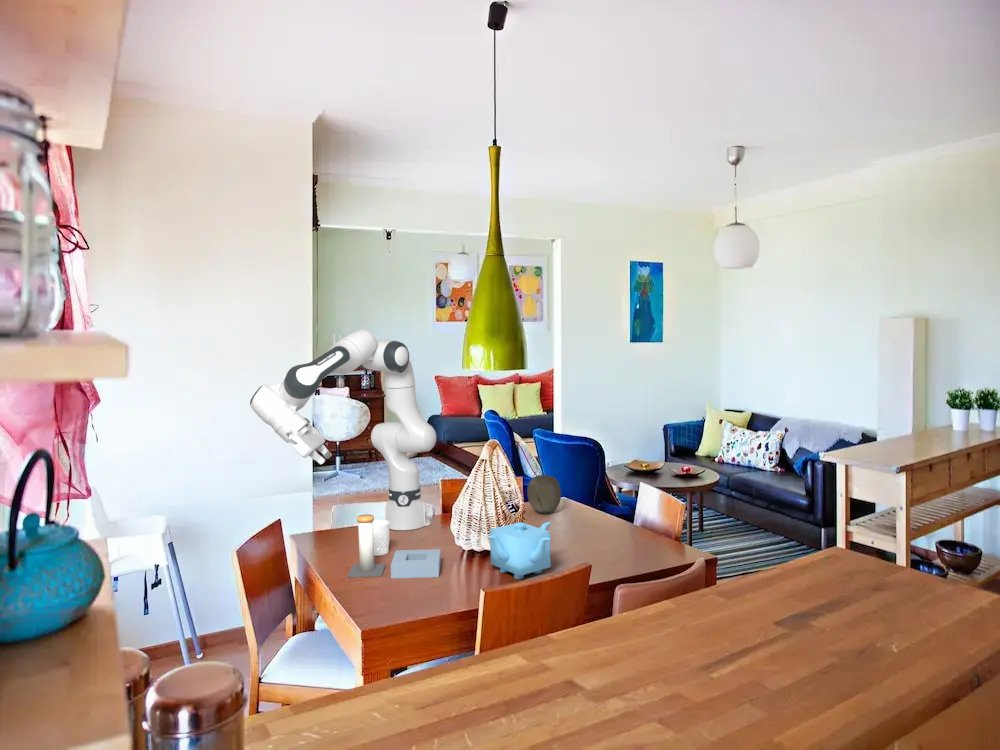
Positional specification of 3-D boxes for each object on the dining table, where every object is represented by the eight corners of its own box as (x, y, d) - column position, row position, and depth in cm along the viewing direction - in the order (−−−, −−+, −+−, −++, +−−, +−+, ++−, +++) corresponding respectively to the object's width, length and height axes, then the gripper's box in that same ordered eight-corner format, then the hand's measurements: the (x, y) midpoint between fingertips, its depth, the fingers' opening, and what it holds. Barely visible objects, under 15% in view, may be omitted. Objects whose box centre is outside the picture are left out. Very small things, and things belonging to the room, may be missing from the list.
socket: (396, 562, 218) (395, 550, 218) (440, 561, 219) (440, 549, 218) (391, 578, 204) (390, 565, 204) (438, 577, 205) (438, 563, 204)
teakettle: (494, 561, 219) (493, 515, 218) (553, 562, 216) (553, 515, 216) (486, 582, 200) (485, 532, 199) (551, 583, 198) (550, 533, 197)
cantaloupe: (569, 513, 275) (568, 476, 274) (539, 519, 268) (538, 480, 267) (549, 506, 287) (548, 470, 286) (520, 511, 280) (519, 474, 279)
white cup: (393, 549, 232) (392, 519, 232) (386, 556, 224) (385, 526, 224) (370, 548, 233) (369, 519, 233) (362, 556, 225) (362, 525, 225)
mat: (353, 566, 215) (353, 564, 215) (385, 565, 216) (385, 563, 216) (347, 577, 206) (347, 575, 205) (381, 576, 206) (381, 574, 206)
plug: (360, 566, 213) (358, 514, 212) (376, 566, 213) (374, 514, 213) (357, 572, 208) (355, 518, 207) (374, 571, 208) (372, 518, 208)
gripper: (292, 425, 203) (327, 458, 204) (308, 417, 223) (340, 447, 224) (277, 441, 203) (312, 473, 204) (294, 431, 223) (326, 461, 224)
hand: (326, 459), depth 214 cm, fingers open, 8 cm apart
